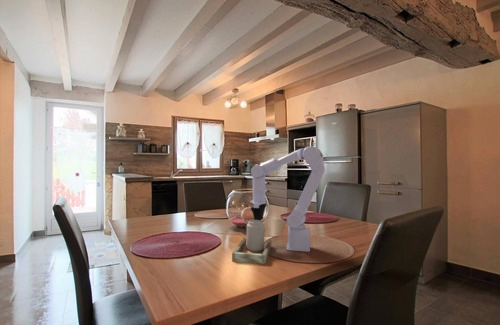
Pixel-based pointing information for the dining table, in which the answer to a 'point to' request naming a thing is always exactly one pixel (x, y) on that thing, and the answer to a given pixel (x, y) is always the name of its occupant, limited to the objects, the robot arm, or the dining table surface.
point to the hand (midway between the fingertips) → (258, 221)
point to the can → (255, 235)
